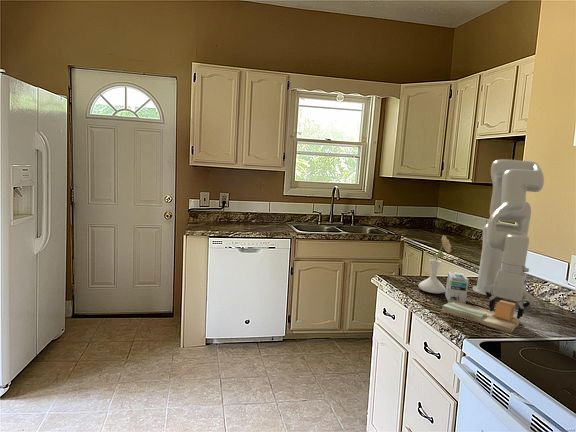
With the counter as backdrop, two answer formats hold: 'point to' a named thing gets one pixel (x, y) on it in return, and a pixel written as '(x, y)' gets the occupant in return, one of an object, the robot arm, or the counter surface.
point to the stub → (504, 310)
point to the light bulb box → (456, 287)
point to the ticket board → (480, 316)
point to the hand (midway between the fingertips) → (505, 314)
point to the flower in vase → (435, 272)
